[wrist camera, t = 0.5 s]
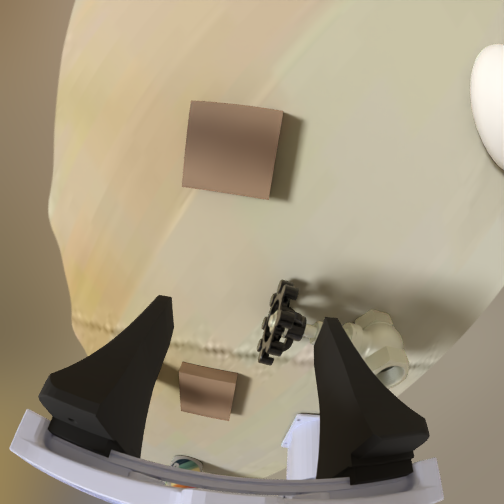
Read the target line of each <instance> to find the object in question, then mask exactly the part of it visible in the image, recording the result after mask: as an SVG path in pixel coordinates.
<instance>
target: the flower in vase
mask: <svg viewBox="0 0 504 504" xmlns="http://www.w3.org/2000/svg"><path fill="white" fill-rule="evenodd" d="M470 100H471V108H472V113H473V117H474V121H475V125H476V127H477V130H478V133H479V135H480V137H481V140H482V142H483V144H484V146H485V148H486V149H487V151H488V153H489V154H490V156H491V157H492V159H493V160H494V161H495V162H496V164H497V165H498V166H499V167H500V168H502V169H503V170H504V44H492V45H489V46H487V47H485V48H484V49H483V50H482V51H481V52H480V53H479V55H478V56H477V58H476V60H475V63H474V66H473V70H472V74H471V80H470Z"/></svg>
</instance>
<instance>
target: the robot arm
mask: <svg viewBox="0 0 504 504" xmlns="http://www.w3.org/2000/svg"><path fill="white" fill-rule="evenodd" d="M173 329H174V322H173V310H172V297H168V296H162V295H159V296H157V297H156V298H155V300H154V301H153V302H152V303H151V304H150V305H149V306H148V307H147V308H146V309H145V310H144V311H143V312H142V313H141V314H140V315H139V316H138V317H137V318H136V319H135V320H134V321H133V322H132V323H131V324H130V325H129V326H128V327H127V328H126V329H124V330H123V331H122V332H121V333H120V334H119V335H118V336H116V337H115V338H114V339H113V340H111V341H110V342H109V343H107V344H106V345H105V346H103V347H102V348H100V349H99V350H97V351H96V352H94V353H93V354H91V355H90V356H88V357H86V358H85V359H83V360H81V361H79V362H77V363H75V364H73V365H71V366H69V367H67V368H64V369H62V370H59V371H57V372H55V373H51V374H50V376H49V377H48V379H47V380H46V382H45V384H44V386H43V388H42V390H41V392H40V394H39V400H40V402H41V403H42V404H43V406H44V407H45V408H46V409H47V410H48V412H49V413H50V414H51V415H52V416H53V417H52V420H51V421H49V420H48V419H47V418H45V417H43V416H41V415H39V414H37V413H35V412H33V411H31V410H30V409H27V410H26V412H25V414H24V416H23V418H22V421H21V423H20V425H19V427H18V429H17V432H16V434H15V436H14V439H13V441H12V443H11V446H10V450H11V451H12V452H14V453H15V454H16V455H18V456H19V457H21V458H22V459H24V460H25V461H27V462H28V463H29V464H31V465H32V466H34V467H36V468H37V469H39V470H41V471H43V472H45V473H46V474H48V475H50V476H52V477H54V478H56V479H58V480H60V481H62V482H64V483H66V484H68V485H70V486H72V487H74V488H76V489H78V490H80V491H83V492H85V493H88V494H90V495H92V496H94V497H97V498H100V499H102V500H104V501H107V502H110V503H112V504H434V503H436V502H439V501H441V500H443V499H444V495H443V489H442V484H441V478H440V474H439V469H438V463H437V459H436V458H435V457H434V458H430V459H427V460H422V461H418V462H415V463H413V464H412V461H411V459H412V458H414V454H413V450H415V449H416V448H418V447H419V446H420V445H422V444H423V443H424V442H425V441H427V439H428V438H429V431H428V427H427V424H426V420H425V418H423V417H421V416H420V415H419V414H417V413H416V412H414V411H413V410H412V409H410V408H409V407H407V406H406V405H405V404H404V403H403V402H401V401H400V400H399V399H398V398H397V397H396V396H395V395H394V394H393V393H392V392H391V391H390V390H389V389H387V388H386V386H385V385H384V384H383V383H382V382H381V381H380V380H379V379H378V378H377V376H376V375H375V374H374V373H373V372H372V371H371V369H370V368H369V367H368V365H367V364H366V362H365V361H364V360H363V358H362V357H361V355H360V354H359V352H358V351H357V349H356V348H355V346H354V345H353V343H352V342H351V340H350V338H349V337H348V335H347V333H346V332H345V330H344V328H343V327H342V325H341V323H340V322H339V320H338V319H337V318H328V317H325V319H324V322H323V324H322V327H321V329H320V332H319V334H318V337H317V339H316V342H315V344H314V367H315V375H316V382H317V389H318V397H319V407H320V415H310V414H298V415H296V417H295V419H294V421H293V423H292V425H291V427H290V429H289V431H288V432H287V434H286V436H285V438H284V440H283V442H282V443H281V446H282V447H286V448H288V454H287V480H278V479H257V478H244V477H234V476H225V475H217V474H210V473H204V472H198V471H192V470H187V469H181V468H177V467H172V466H167V465H163V464H159V463H155V462H151V461H147V460H144V459H140V455H141V448H142V441H143V434H144V429H145V423H146V418H147V413H148V408H149V404H150V400H151V396H152V391H153V388H154V385H155V382H156V379H157V377H158V374H159V371H160V369H161V366H162V363H163V361H164V358H165V356H166V353H167V350H168V348H169V345H170V341H171V337H172V333H173ZM160 480H161V481H160ZM163 481H166V482H170V483H175V484H179V485H184V486H190V487H195V488H179V487H173V486H167V485H165V483H164V482H163ZM198 488H201V489H198ZM206 489H208V490H206ZM213 490H215V491H213ZM221 491H222V492H221ZM229 492H231V493H229ZM239 493H241V494H239ZM252 494H255V495H252ZM268 495H278V496H268Z"/></svg>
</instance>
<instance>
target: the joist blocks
mask: <svg viewBox="0 0 504 504" xmlns="http://www.w3.org/2000/svg"><path fill="white" fill-rule="evenodd" d="M282 117H283V111H279V110H273V109H267V108H260V107H253V106H245V105H237V104H228V103H217V102H205V101H191V105H190V112H189V120H188V129H187V138H186V147H185V157H184V168H183V180H182V187H188V188H195V189H203V190H210V191H217V192H223V193H230V194H236V195H243V196H249V197H255V198H261V199H267V200H269V194H270V188H271V182H272V176H273V170H274V164H275V159H276V153H277V147H278V141H279V135H280V129H281V123H282ZM237 375H238V373H234V372H228V371H223V370H218V369H213V368H208V367H203V366H198V365H194V364H189V363H185V362H182V365H181V367H180V370H179V386H180V403H181V411H184V412H188V413H192V414H197V415H201V416H206V417H211V418H216V419H221V420H227V421H229V418H230V413H231V408H232V402H233V397H234V391H235V386H236V380H237Z"/></svg>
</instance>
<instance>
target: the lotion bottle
mask: <svg viewBox="0 0 504 504" xmlns="http://www.w3.org/2000/svg"><path fill="white" fill-rule="evenodd" d="M171 466H172V467H177V468H181V469H187V470H192V471H198V472H202V463H201V462H200V461H198V460H196V459H194V458H191V457H187V456H175V457H174V458H173V460H172V463H171ZM165 485H167V486H173V487H179V488H195V487H190V486H184V485H179V484H175V483H170V482H166V483H165Z"/></svg>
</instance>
